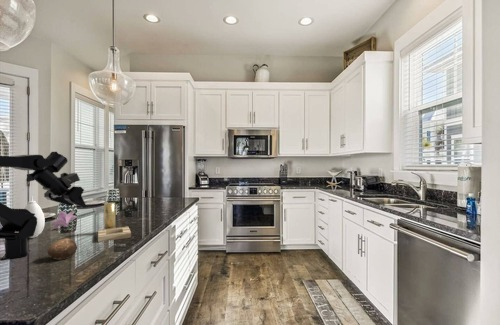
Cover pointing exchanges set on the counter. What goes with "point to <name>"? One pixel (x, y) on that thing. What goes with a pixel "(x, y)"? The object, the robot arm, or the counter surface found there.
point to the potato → (62, 249)
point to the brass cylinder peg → (109, 215)
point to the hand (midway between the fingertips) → (78, 205)
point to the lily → (63, 219)
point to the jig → (114, 234)
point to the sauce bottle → (38, 212)
